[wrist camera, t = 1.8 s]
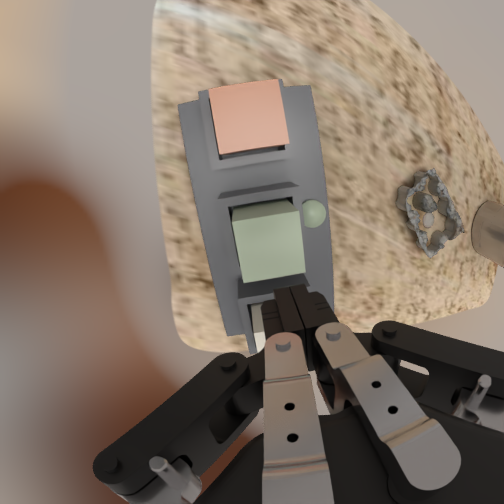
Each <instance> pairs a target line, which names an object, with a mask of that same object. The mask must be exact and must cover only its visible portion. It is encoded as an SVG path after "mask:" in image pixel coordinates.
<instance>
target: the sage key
mask: <svg viewBox="0 0 504 504" xmlns="http://www.w3.org/2000/svg"><path fill="white" fill-rule="evenodd" d="M232 225H233V231H234V236H235V241H236V246H237V252H238V257H239V262H240V267H241V272H242V277H243V283H247V282H253V281H259V280H265V279H271V278H277V277H283V276H288V275H294V274H299V273H305V272H306V270H305V260H304V250H303V240H302V231H301V223H300V214H299V210H298V209H297V208H295V207H294V206H293V205H292V204H291V203H290V202H289V201H288V200H287V199H281V200H274V201H268V202H262V203H256V204H250V205H244V206H238V207H233V216H232Z"/></svg>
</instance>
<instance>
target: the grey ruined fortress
mask: <svg viewBox="0 0 504 504" xmlns="http://www.w3.org/2000/svg"><path fill="white" fill-rule="evenodd" d="M427 175H428V176H429V177H430V181H429V184H428V189H429V192H430V193H431V194H432V195H435V196H438V197H439V199H440V200H439V201H438V204H436V202H435V201H434V199H433V197H432V196H431V195H428V194H425V193H421V192H422V191H423V190H424V189H425V187H424V185H425V184H426V182H425V180H426V179H427V178H428V176H427ZM414 177H415V183H414V185H413V187H412V188H410V187H406V186H403V185H402V186H401V187H400V188H398V199H397V201H396V202H395V203H396V205H397V207H398V208H399V209H401V210H404V211H407V214H408V216H409V219H408V221H407V222H406V224H407V226H408V228H409V229H411V230H414V231H415V232H416V233H417V236H418V239H417V241H416V244H417V246H418V247H419V248H421V249H423V250H424V251H425V253H426V255H427V256H428V257H430V258H431V257H433V256H434V255H436V254H437V252H438V251H439V250H440V249H442V248H444V245H443V244H444V243H445V242H446V241H447V240H453V239H455V238H456V237H457V236H458V235H459V234H460V233H462V232H463V233H464V228H463V223H462V221H461V218H460V216H459V214H458V212H456V210H455V207H454V203H453V201H452V200H451V198H450V196H449V194H448V191H447V188H446V186H445V185H444V183H443V182H442V181H441V179H440V178H439V176H438V175H437V174H436V170H435V169H434V168H433V169H432V170H428V171H427V172H421V171H417V172H416V173H415V174H414ZM417 191H421V192H418V193H416V194H415V195H414V197H413V206H414V207H415V208H416V209H418V210H421V211H423V212H426V214H425V215H424V217H423V225H424V227H425V228H430V227H431V226H432V225H433V223H434V216H433V214H432V212H433V211H434V210H437V209H438V211H439V213H441V214H443V215H445V216H447V220H446V222H445V230H444V231H443V232H440V231H435V232H434V233H433V234H432V236H431V244H430V245H429V246H428V247H426V243H427V241H428V238H427V234H426V233H427V232H424V231H422V230H420V229H419V226H418V223H419V222H420V219H419V216H420V215H419V214H418V212H417V211H415V210H411V205H409V204H408V203H407V198H408V197H410V196H411V195H412V194H414V192H417Z"/></svg>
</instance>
